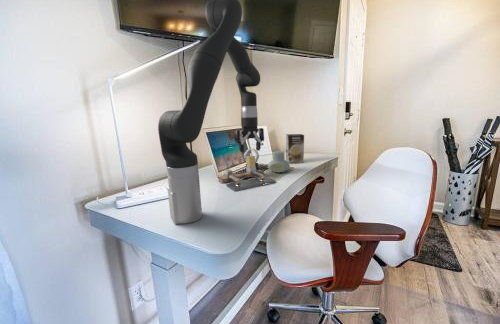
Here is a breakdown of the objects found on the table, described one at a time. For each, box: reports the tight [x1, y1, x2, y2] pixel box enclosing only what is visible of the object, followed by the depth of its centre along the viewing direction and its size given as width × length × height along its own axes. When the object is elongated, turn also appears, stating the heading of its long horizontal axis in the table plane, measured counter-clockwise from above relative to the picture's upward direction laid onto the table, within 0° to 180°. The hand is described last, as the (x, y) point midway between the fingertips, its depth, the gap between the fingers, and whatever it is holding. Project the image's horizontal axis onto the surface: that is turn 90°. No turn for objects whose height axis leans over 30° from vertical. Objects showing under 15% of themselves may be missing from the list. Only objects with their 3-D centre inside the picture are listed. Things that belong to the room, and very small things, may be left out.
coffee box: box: [285, 133, 305, 165], centre depth 147 cm, size 9×6×16 cm
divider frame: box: [218, 168, 265, 184], centre depth 117 cm, size 22×13×5 cm, turn 119°
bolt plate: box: [225, 175, 276, 192], centre depth 112 cm, size 20×8×1 cm, turn 119°
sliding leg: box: [245, 154, 265, 179], centre depth 118 cm, size 3×13×8 cm, turn 29°
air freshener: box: [267, 150, 291, 173], centre depth 130 cm, size 11×8×10 cm
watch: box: [243, 148, 260, 170], centre depth 136 cm, size 6×8×11 cm
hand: (250, 151), depth 121 cm, fingers open, 8 cm apart
